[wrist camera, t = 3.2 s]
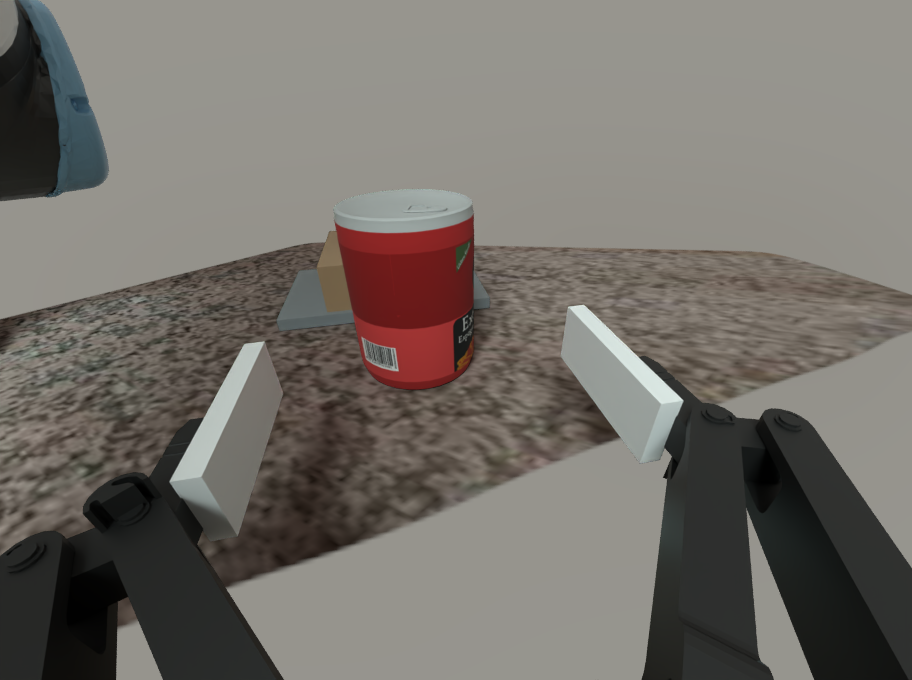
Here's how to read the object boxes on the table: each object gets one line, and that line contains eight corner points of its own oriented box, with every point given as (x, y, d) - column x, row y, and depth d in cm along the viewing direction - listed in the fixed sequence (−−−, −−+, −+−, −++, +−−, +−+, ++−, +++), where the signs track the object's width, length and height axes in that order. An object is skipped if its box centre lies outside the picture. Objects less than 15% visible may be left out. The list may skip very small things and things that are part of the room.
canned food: (483, 385, 24) (487, 213, 19) (359, 400, 24) (321, 224, 18) (464, 327, 31) (461, 185, 25) (366, 337, 30) (339, 192, 24)
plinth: (279, 330, 31) (261, 274, 28) (301, 279, 40) (288, 233, 38) (489, 307, 34) (490, 253, 31) (464, 264, 43) (464, 219, 40)
